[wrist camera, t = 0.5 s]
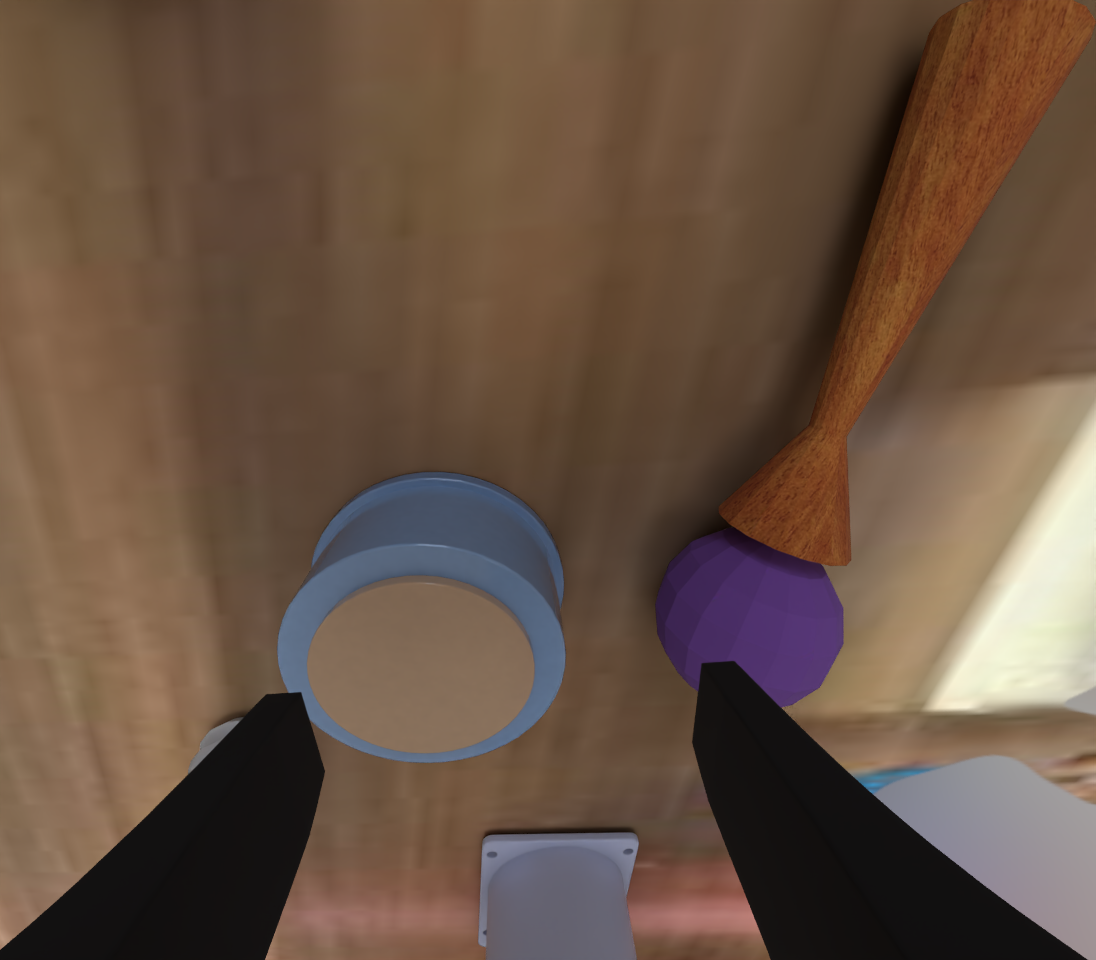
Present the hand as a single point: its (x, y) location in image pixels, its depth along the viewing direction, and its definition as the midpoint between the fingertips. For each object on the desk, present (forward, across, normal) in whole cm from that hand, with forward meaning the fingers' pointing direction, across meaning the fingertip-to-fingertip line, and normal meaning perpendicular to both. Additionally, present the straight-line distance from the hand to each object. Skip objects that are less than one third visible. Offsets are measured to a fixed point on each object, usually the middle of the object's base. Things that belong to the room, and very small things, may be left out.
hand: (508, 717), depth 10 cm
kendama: (+10, -10, -3) cm, 15 cm away
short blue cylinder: (+10, +3, +4) cm, 11 cm away
